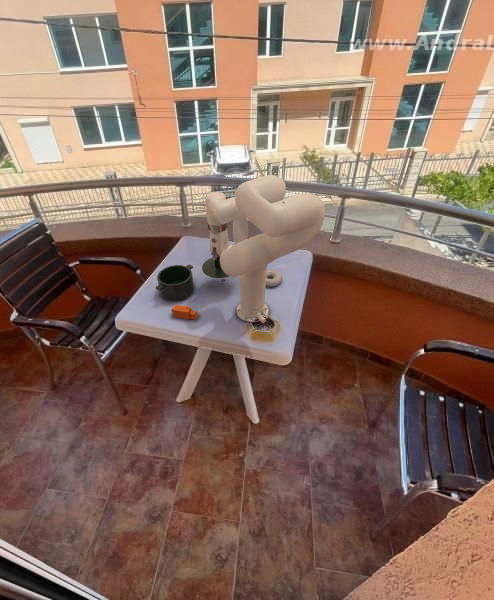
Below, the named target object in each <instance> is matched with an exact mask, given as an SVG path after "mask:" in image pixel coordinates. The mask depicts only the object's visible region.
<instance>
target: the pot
mask: <svg viewBox="0 0 494 600" xmlns="http://www.w3.org/2000/svg"><path fill="white" fill-rule="evenodd" d="M192 269H194V266H193V265H192V264H187V265H182V264H174V265H169V266H167V267H164V268H162V269H161V270H160V271H159V272H158V273H157V276H156V281H157V284H158V285H155V290H157V291H158V292H160V295H161V297H162V298H163V299H164V300H166V301H169V302H181V301H184V300H186V299H188V298H190V297H191V296H192V295H193V294H194V292H195V283H194V277H193V271H192Z"/></svg>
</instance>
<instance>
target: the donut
mask: <svg viewBox="0 0 494 600" xmlns="http://www.w3.org/2000/svg"><path fill="white" fill-rule="evenodd" d="M282 279H283V278H282V275H281V273H279V271H276V270H273V269H266V285H265V287H270V288H271V287H276V286H279V285H280V284H281V283H282Z"/></svg>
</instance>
